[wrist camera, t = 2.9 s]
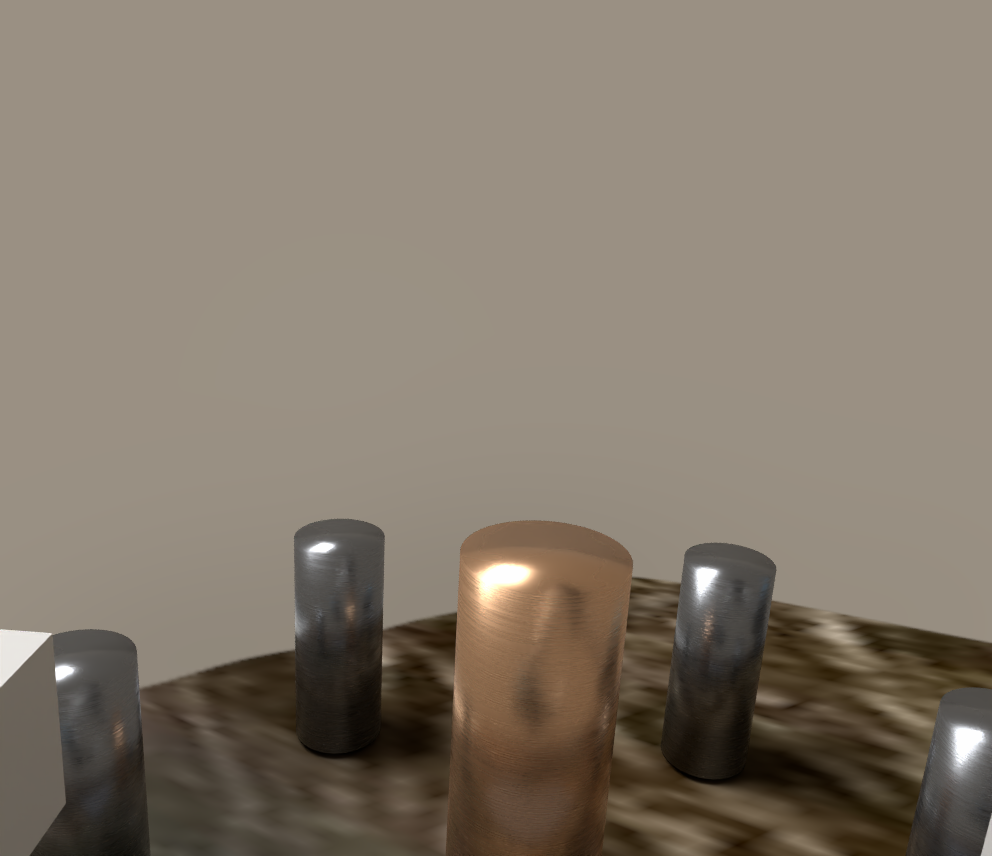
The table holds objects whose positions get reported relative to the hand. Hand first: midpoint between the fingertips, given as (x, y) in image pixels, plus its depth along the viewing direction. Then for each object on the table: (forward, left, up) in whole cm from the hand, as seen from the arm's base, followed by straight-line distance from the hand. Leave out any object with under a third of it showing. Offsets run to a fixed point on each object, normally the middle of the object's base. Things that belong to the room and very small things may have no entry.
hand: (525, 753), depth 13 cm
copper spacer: (-1, -11, -14) cm, 18 cm away
